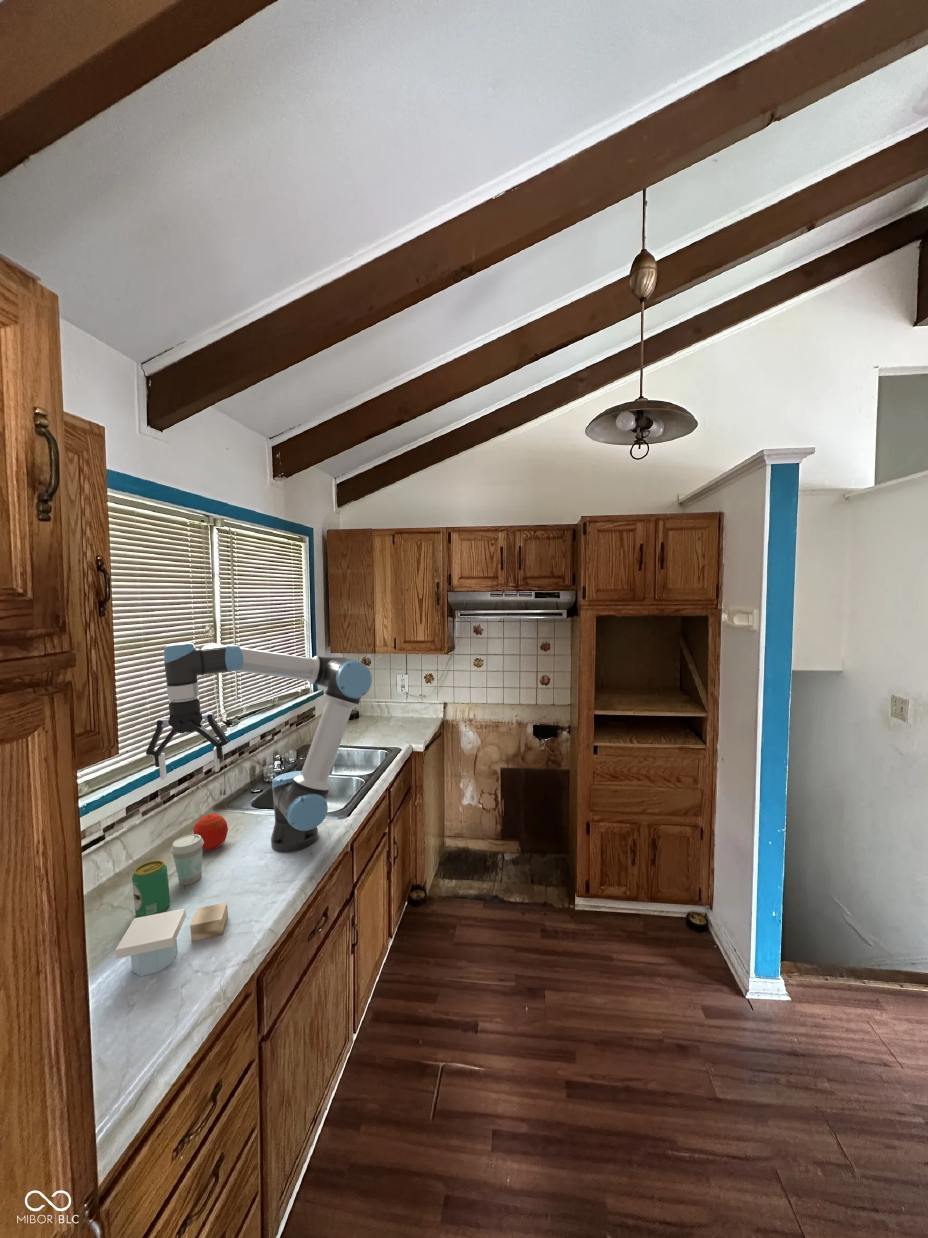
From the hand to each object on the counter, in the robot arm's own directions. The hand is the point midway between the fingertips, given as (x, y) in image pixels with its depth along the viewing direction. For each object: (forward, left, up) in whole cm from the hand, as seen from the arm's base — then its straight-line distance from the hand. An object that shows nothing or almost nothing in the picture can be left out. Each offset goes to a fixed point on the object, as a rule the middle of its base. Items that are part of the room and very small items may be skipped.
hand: (191, 774), depth 139 cm
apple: (+3, -28, -35) cm, 45 cm away
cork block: (-6, +18, -35) cm, 39 cm away
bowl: (+4, +26, -35) cm, 43 cm away
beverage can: (+11, +4, -35) cm, 37 cm away
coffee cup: (+5, -9, -35) cm, 36 cm away
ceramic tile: (+4, +26, -29) cm, 39 cm away
